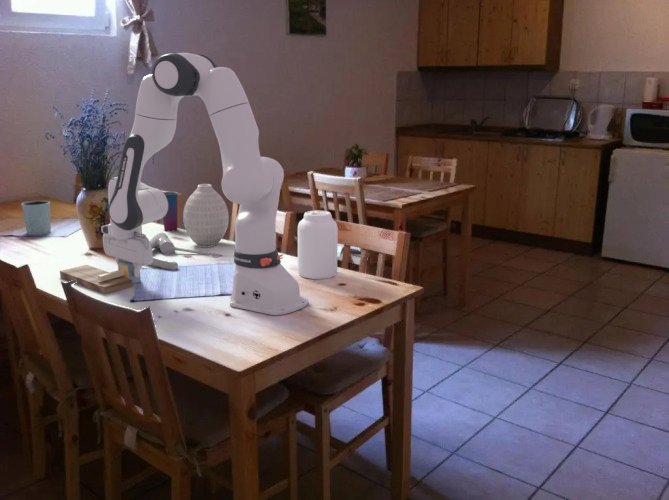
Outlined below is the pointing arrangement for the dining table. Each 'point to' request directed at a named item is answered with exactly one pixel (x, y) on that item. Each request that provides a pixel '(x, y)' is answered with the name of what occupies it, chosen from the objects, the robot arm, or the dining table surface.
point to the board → (95, 279)
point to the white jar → (317, 245)
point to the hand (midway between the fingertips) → (129, 274)
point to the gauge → (121, 272)
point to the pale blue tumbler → (37, 217)
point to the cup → (171, 212)
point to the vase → (205, 216)
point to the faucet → (169, 251)
